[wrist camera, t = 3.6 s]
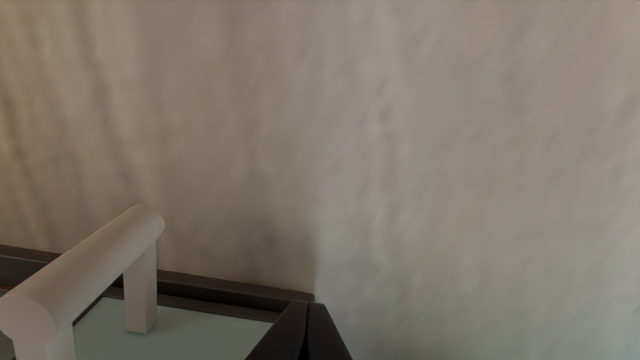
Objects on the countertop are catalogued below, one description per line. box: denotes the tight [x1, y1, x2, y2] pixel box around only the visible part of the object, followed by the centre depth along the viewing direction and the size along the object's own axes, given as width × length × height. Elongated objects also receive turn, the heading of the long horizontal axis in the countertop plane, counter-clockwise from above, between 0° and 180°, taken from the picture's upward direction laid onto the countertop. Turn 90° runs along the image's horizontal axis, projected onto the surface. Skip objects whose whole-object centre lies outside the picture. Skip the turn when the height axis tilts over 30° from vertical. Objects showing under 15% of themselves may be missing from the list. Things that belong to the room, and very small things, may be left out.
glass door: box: [0, 204, 282, 360], centre depth 10 cm, size 6×9×7 cm, turn 81°
